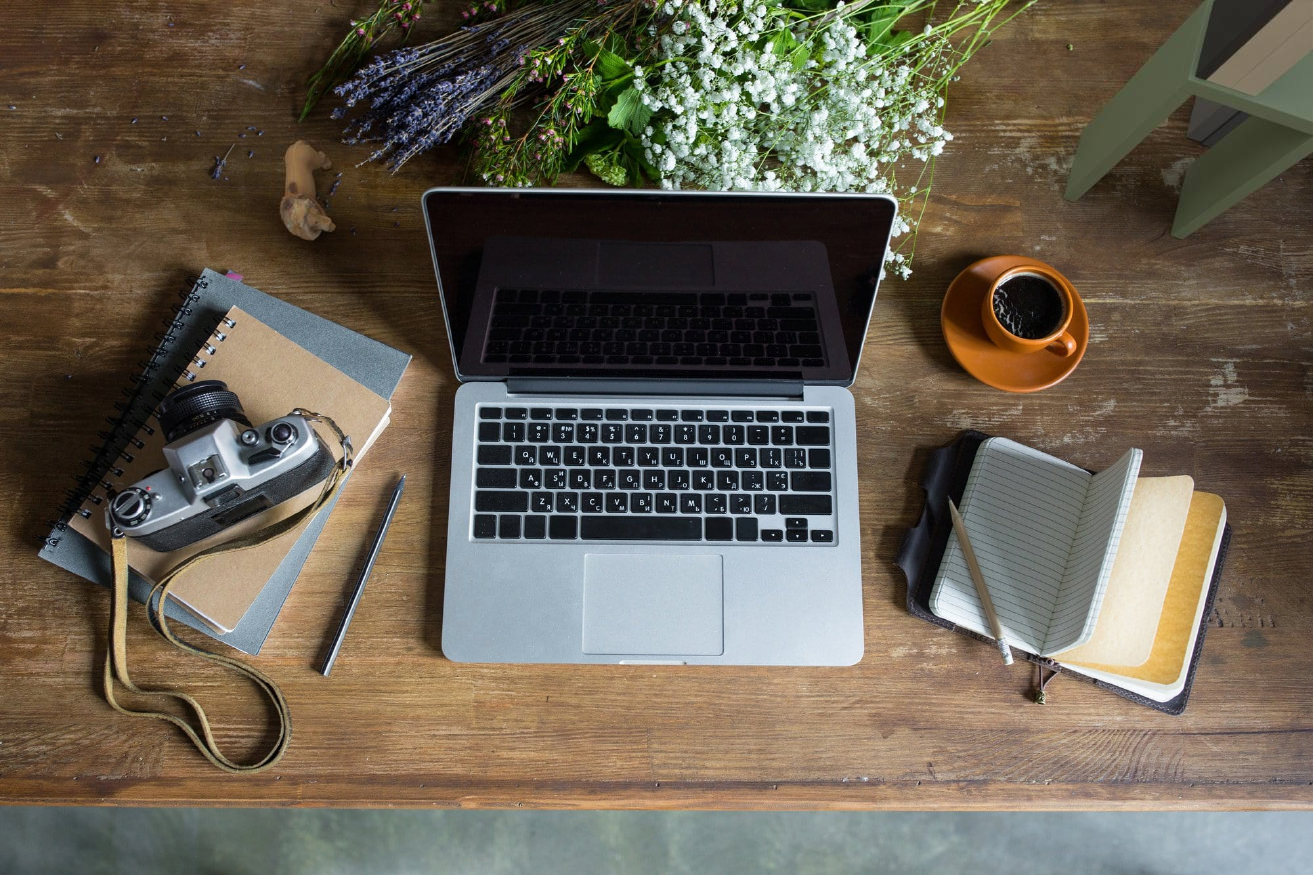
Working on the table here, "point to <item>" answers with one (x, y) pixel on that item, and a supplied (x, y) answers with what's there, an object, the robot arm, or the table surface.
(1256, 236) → the table surface
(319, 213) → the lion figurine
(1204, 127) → the grey books
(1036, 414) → the table surface
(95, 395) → the table surface
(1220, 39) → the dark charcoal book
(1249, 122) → the shelf
